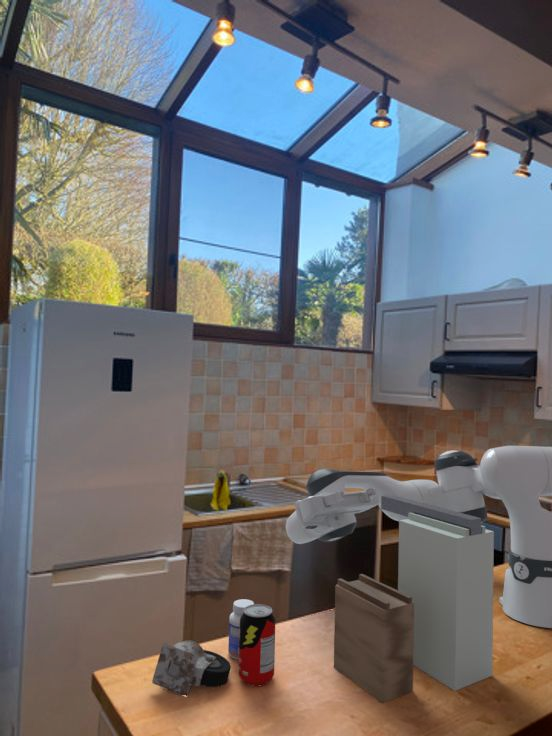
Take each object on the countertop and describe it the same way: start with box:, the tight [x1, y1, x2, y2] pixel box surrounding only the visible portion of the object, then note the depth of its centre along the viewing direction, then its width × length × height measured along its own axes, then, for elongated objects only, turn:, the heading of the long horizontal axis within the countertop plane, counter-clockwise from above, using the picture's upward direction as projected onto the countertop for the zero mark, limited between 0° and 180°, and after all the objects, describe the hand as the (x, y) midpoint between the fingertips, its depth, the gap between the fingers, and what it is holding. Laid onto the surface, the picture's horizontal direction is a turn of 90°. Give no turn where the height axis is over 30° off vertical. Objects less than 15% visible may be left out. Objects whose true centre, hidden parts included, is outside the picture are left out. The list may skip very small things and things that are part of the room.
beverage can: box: [238, 603, 276, 687], centre depth 96 cm, size 6×6×12 cm
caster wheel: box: [151, 639, 232, 696], centre depth 94 cm, size 7×11×10 cm
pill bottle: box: [227, 598, 255, 661], centre depth 104 cm, size 5×5×10 cm
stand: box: [397, 513, 495, 692], centre depth 102 cm, size 10×14×27 cm
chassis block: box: [333, 573, 414, 704], centre depth 97 cm, size 7×13×16 cm, turn 32°
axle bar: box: [380, 495, 482, 536], centre depth 106 cm, size 3×23×3 cm, turn 32°
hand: (358, 492), depth 124 cm, fingers open, 8 cm apart
